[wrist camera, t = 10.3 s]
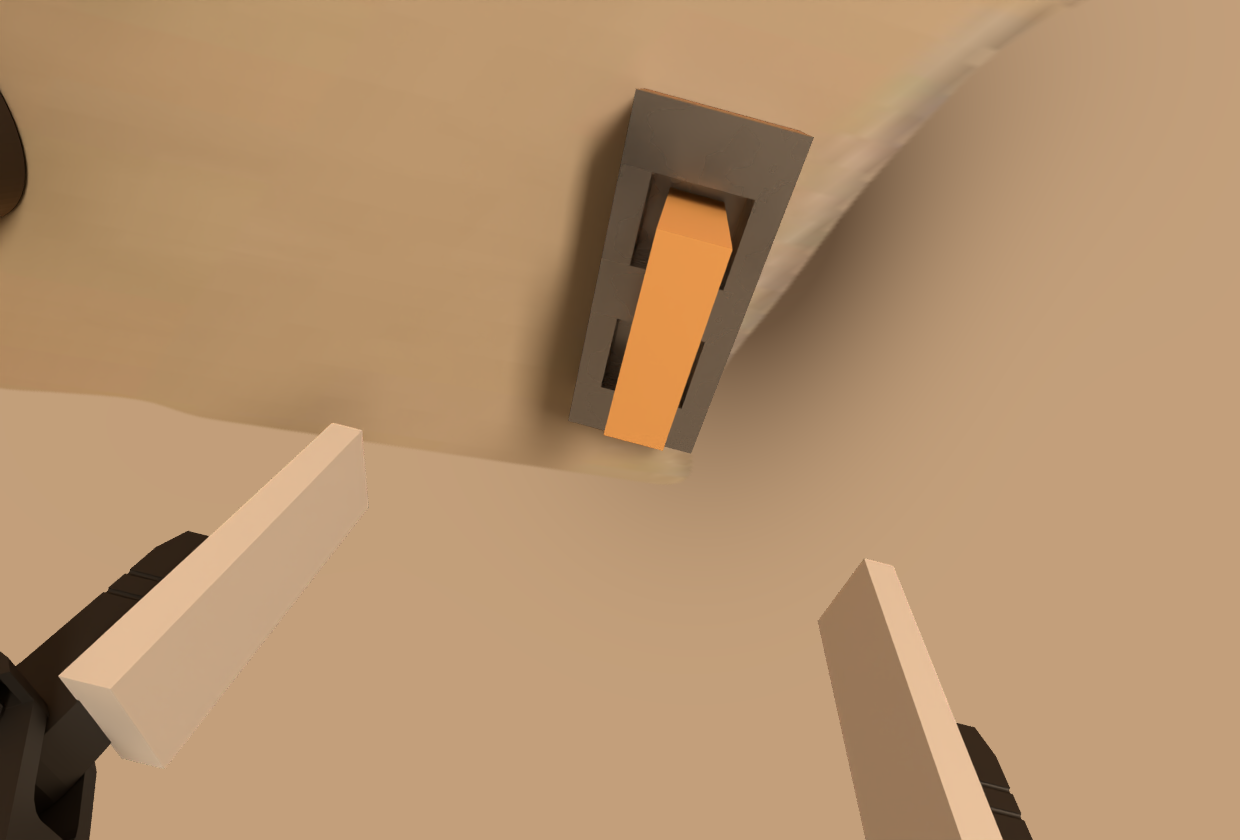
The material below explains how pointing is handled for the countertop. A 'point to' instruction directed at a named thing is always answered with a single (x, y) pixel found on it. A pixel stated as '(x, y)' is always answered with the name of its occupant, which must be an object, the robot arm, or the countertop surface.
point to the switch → (652, 164)
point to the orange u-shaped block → (670, 317)
